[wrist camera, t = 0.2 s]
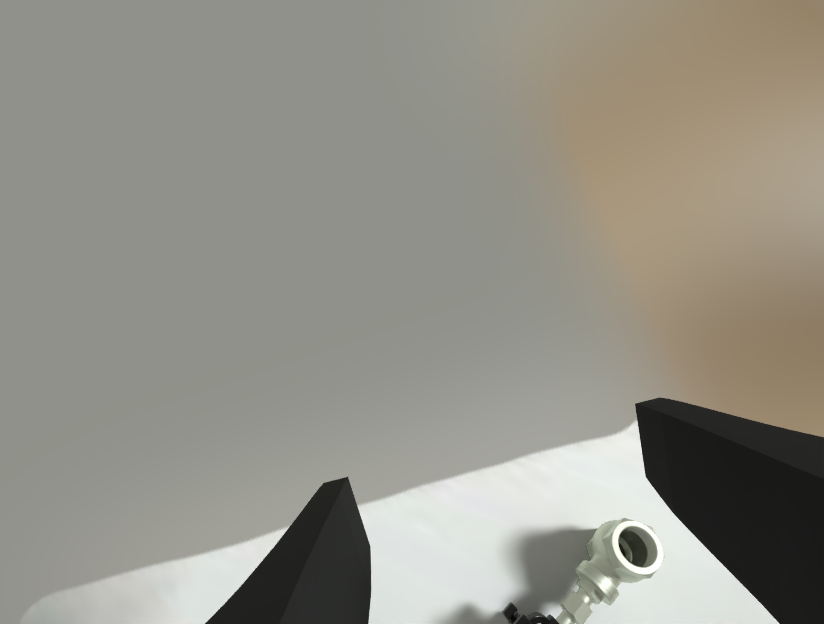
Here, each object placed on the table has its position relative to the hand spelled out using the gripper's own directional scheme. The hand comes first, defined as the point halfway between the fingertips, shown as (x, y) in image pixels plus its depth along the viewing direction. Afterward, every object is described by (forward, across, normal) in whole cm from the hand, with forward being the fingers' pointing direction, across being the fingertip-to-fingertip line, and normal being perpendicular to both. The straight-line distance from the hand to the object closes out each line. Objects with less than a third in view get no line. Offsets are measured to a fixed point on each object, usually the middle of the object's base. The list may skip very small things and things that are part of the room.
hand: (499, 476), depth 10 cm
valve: (+19, -6, +26) cm, 32 cm away
